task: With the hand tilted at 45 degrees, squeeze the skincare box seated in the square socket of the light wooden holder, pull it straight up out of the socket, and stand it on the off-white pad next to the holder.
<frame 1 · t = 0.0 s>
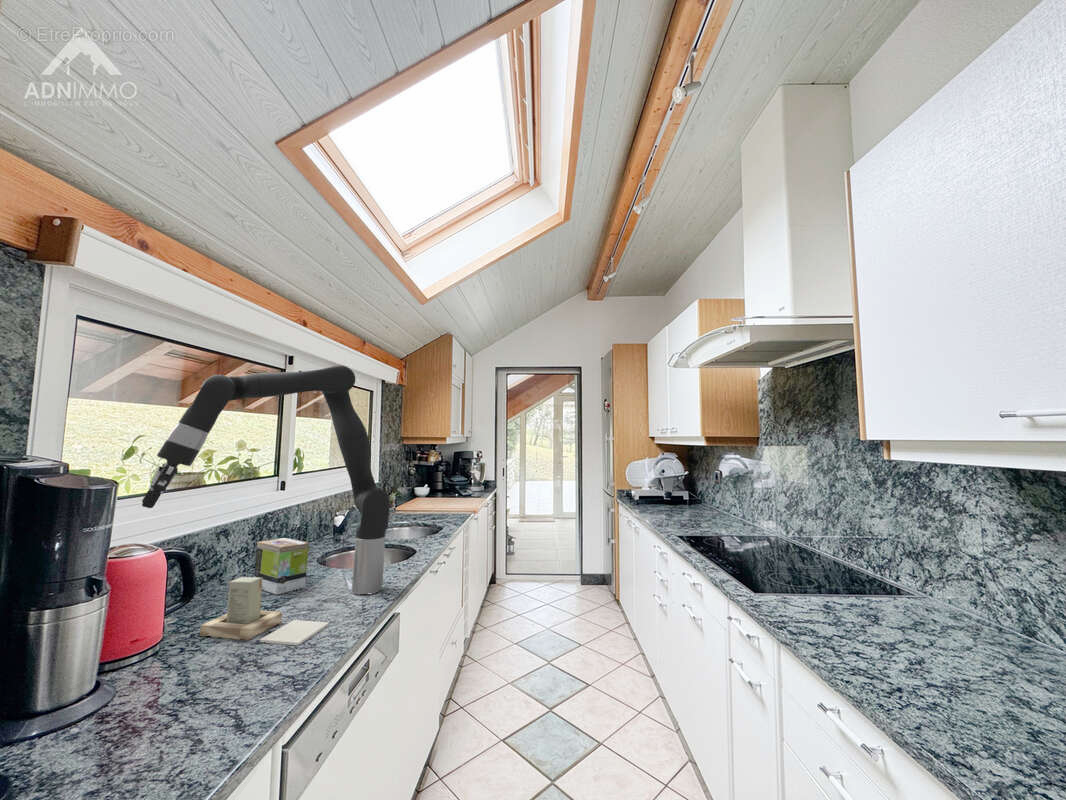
hand: (146, 505, 105), 31 cm above the countertop, tool tilted 20°, fingers open, 8 cm apart
tea box: (279, 588, 141), on the countertop
skincare box: (242, 629, 109), resting in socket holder
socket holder: (242, 628, 109), on the countertop
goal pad: (296, 633, 107), on the countertop
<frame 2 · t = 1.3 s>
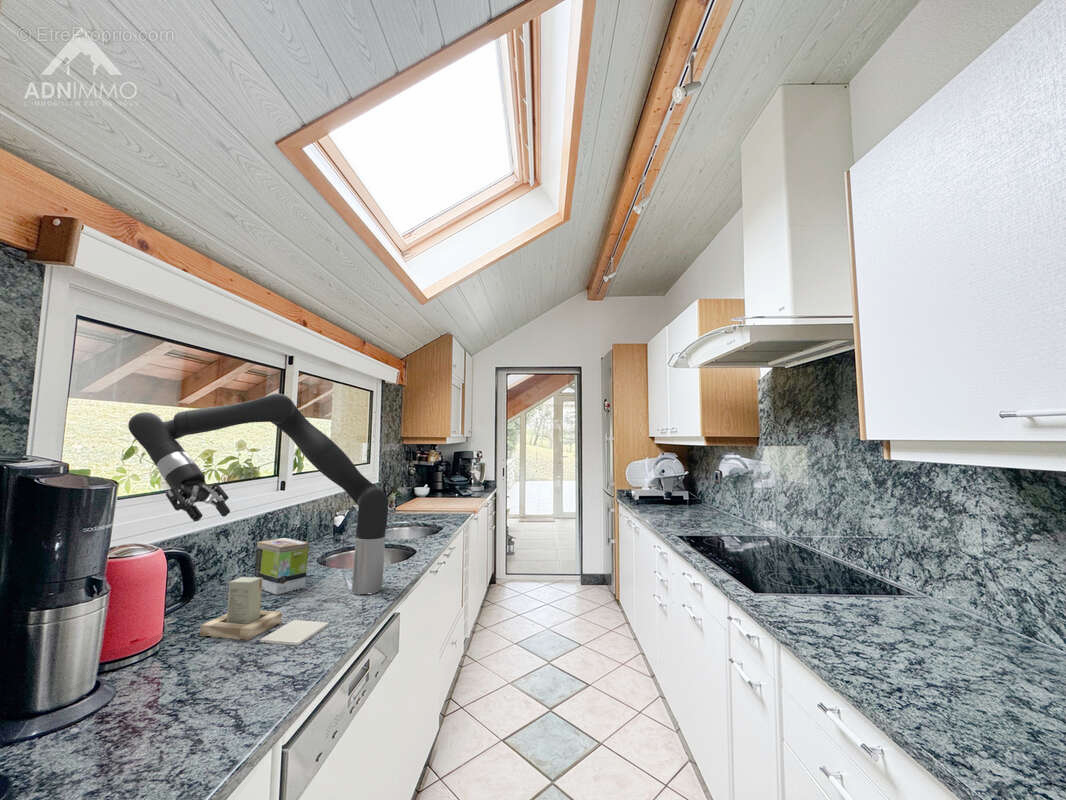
hand: (213, 516, 114), 28 cm above the countertop, tool tilted 45°, fingers open, 8 cm apart
nothing on the countertop moved.
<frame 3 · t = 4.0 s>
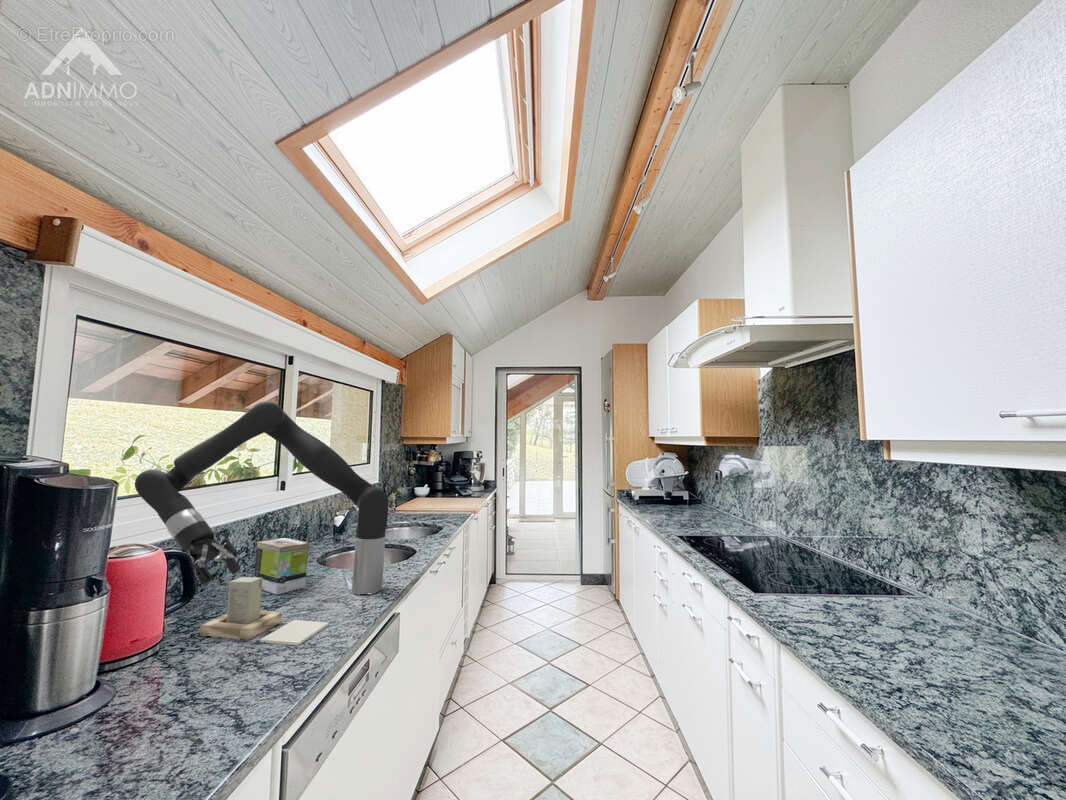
hand: (223, 576, 112), 12 cm above the countertop, tool tilted 45°, fingers open, 8 cm apart
nothing on the countertop moved.
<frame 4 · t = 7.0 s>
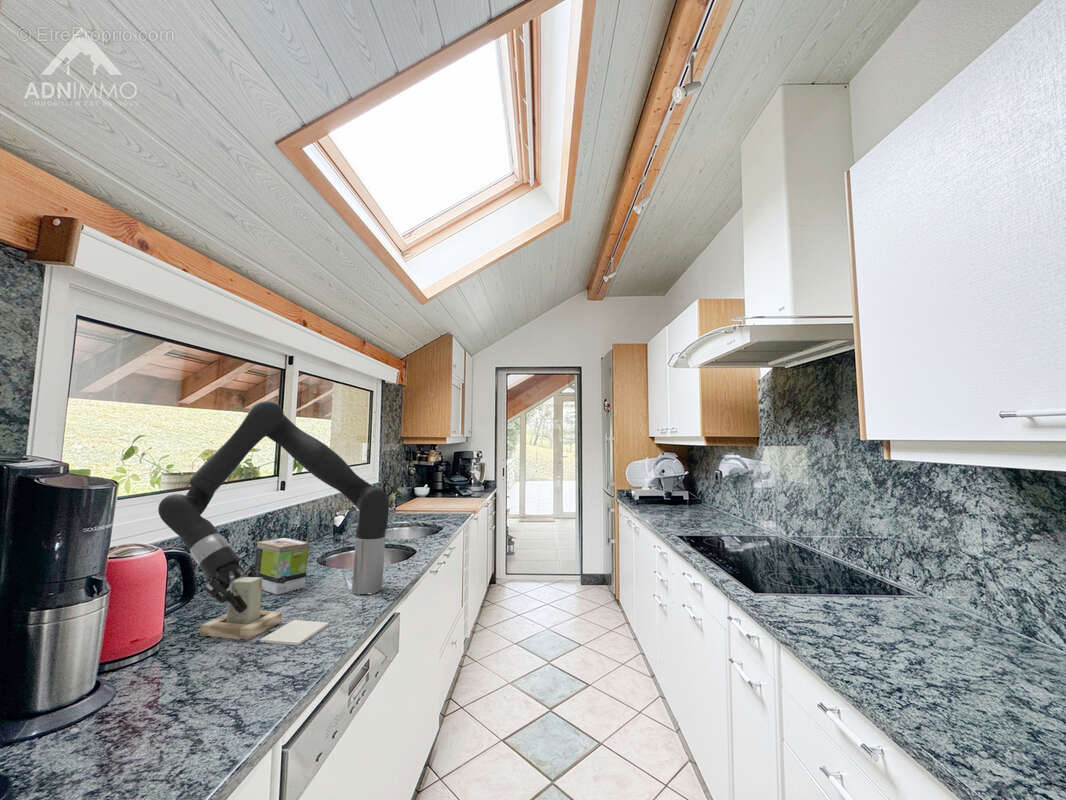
hand: (251, 606, 110), 6 cm above the countertop, tool tilted 45°, fingers closed on skincare box, 4 cm apart
skincare box: (242, 629, 109), resting in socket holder, touching gripper
everything else where it was.
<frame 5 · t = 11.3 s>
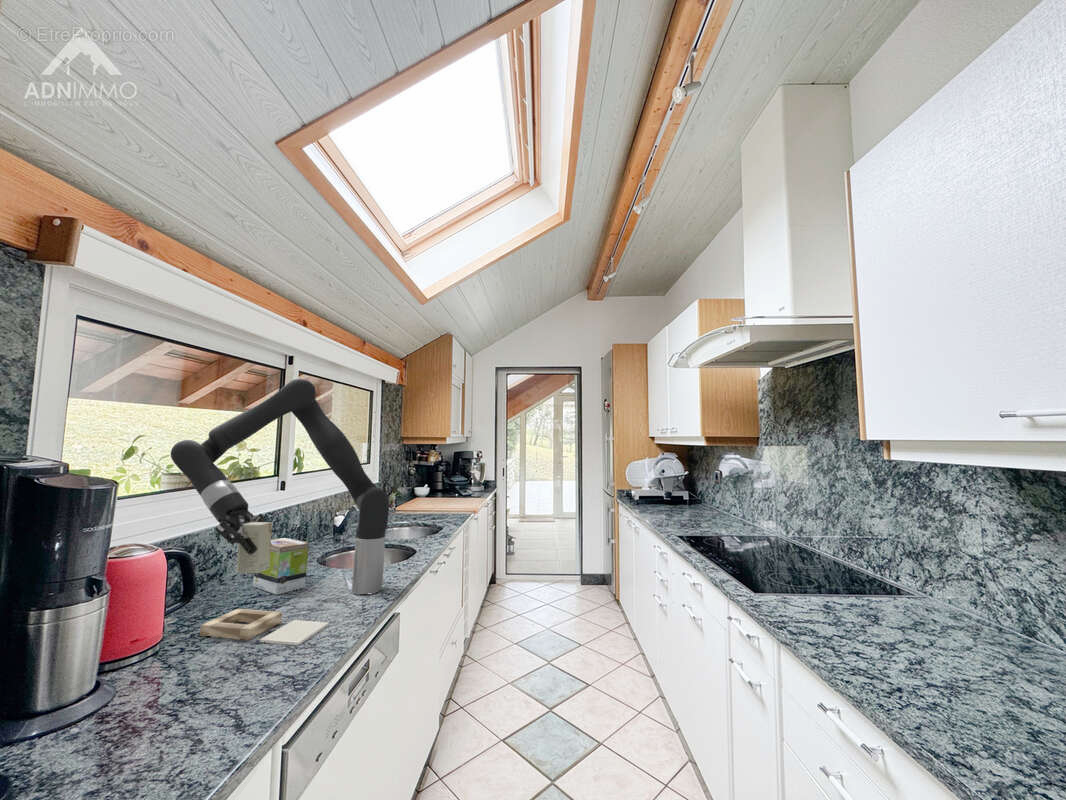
hand: (261, 549, 111), 20 cm above the countertop, tool tilted 45°, fingers closed on skincare box, 4 cm apart
skincare box: (252, 571, 111), point 14 cm above the countertop, touching gripper
everything else where it was.
when the fingers open (7 cm above the countertop, at t = 15.5 s): skincare box drops 1 cm, resting on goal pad.
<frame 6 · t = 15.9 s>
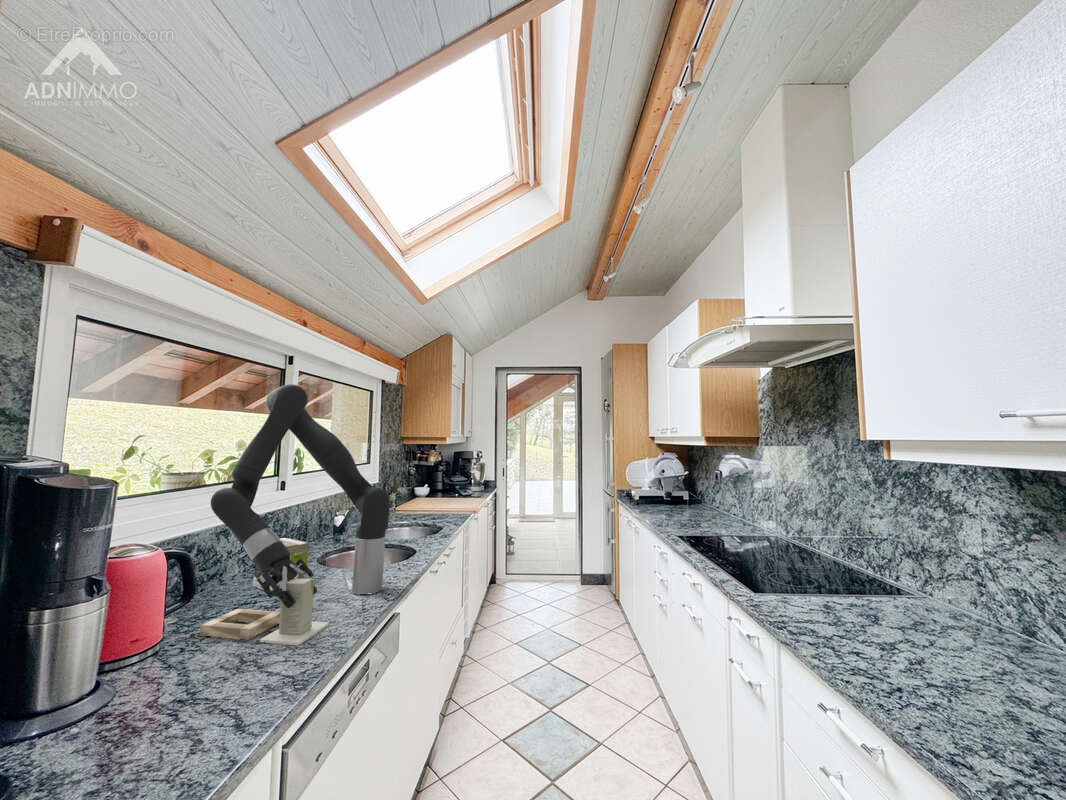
hand: (303, 599, 108), 8 cm above the countertop, tool tilted 45°, fingers open, 8 cm apart
skincare box: (294, 631, 107), resting on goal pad
everything else where it was.
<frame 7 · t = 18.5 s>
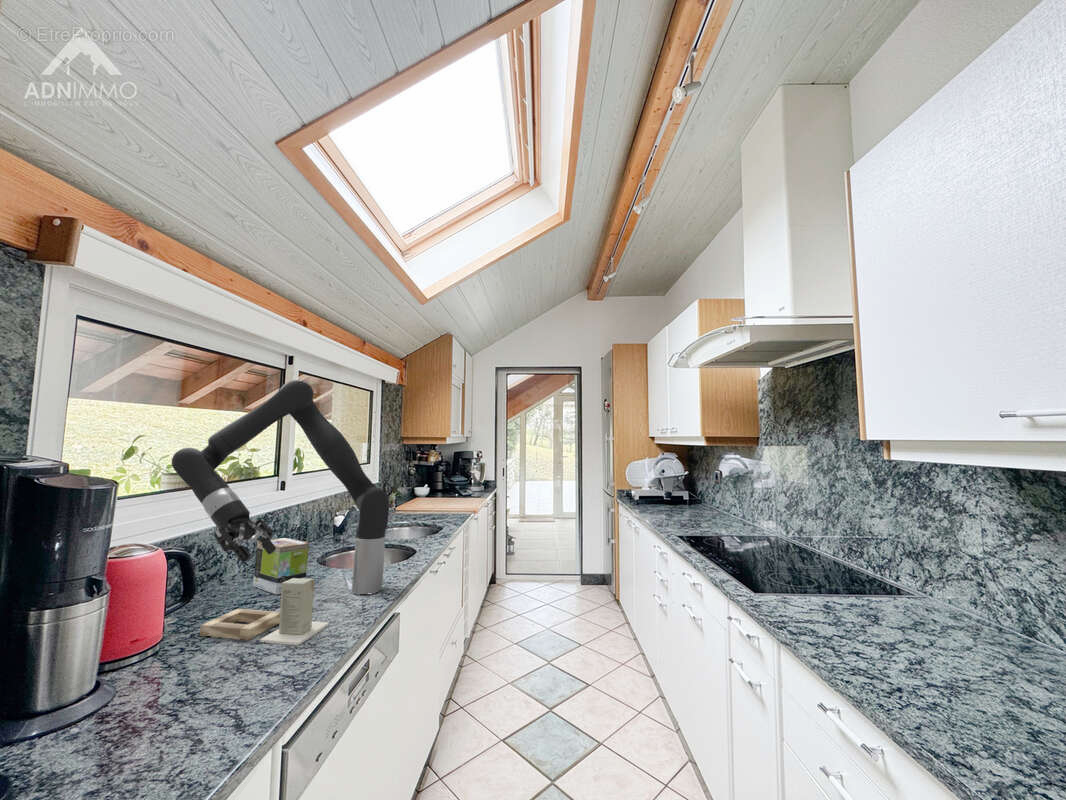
hand: (260, 555, 111), 18 cm above the countertop, tool tilted 45°, fingers open, 8 cm apart
nothing on the countertop moved.
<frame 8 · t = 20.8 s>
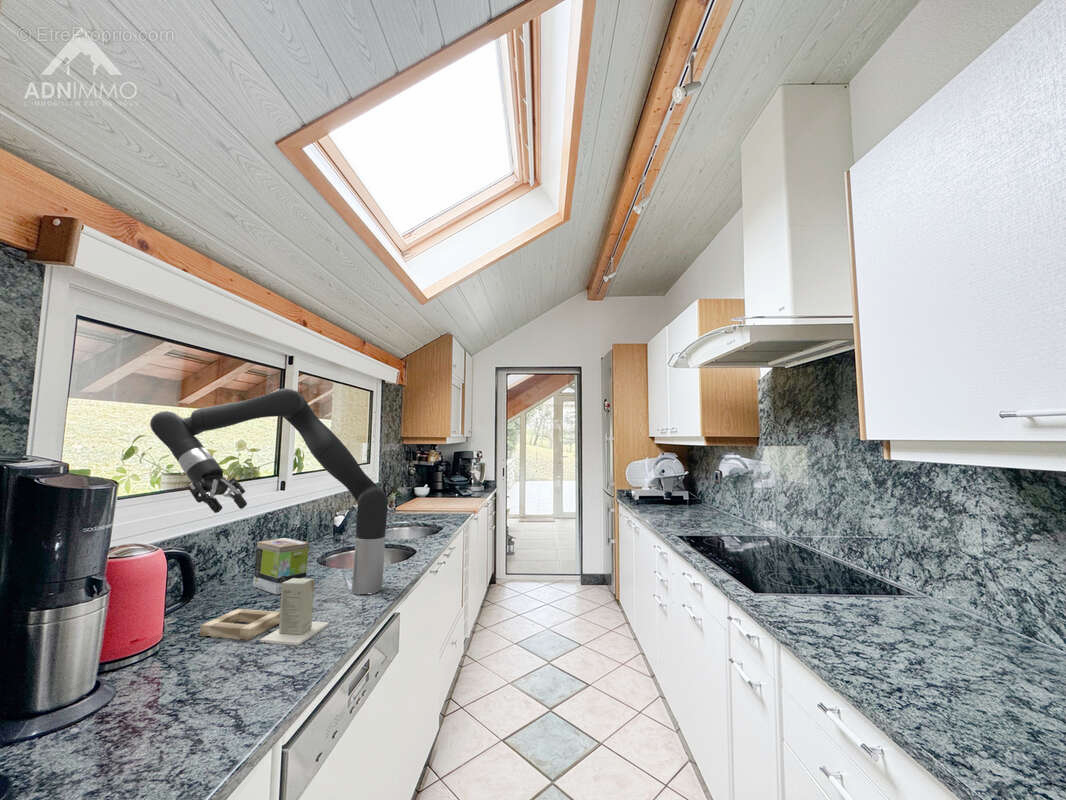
hand: (232, 508, 121), 29 cm above the countertop, tool tilted 45°, fingers open, 8 cm apart
nothing on the countertop moved.
at the end: skincare box inside the target area on the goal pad (0.3 cm from its centre), point 0.4 cm above the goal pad's base; skincare box tilted 0°; the gripper is holding nothing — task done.
